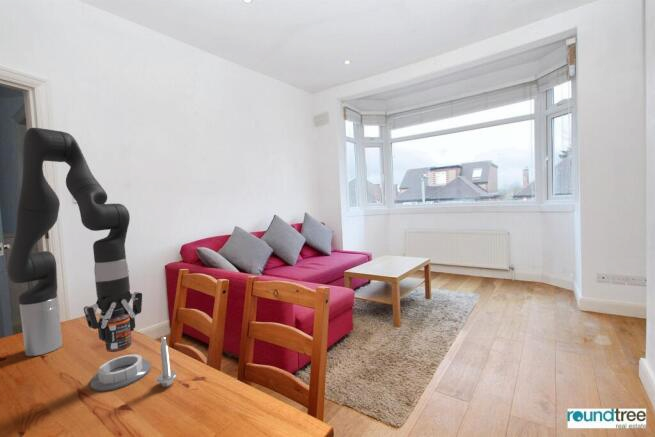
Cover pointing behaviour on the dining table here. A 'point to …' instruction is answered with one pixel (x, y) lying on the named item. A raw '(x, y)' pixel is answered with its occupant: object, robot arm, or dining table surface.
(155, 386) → the dining table surface
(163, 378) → the screw
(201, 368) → the dining table surface
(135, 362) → the bottle coaster
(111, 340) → the supplement bottle
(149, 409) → the dining table surface
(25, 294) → the robot arm
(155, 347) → the dining table surface
